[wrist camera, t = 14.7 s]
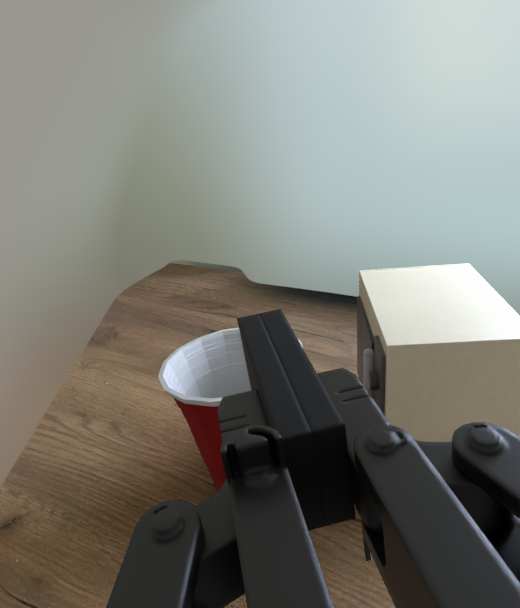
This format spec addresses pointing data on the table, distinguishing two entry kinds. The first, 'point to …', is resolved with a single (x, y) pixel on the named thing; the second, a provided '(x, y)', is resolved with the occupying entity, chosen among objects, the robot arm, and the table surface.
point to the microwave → (438, 349)
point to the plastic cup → (207, 388)
